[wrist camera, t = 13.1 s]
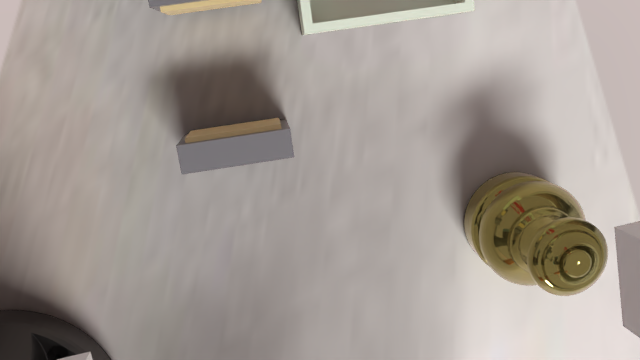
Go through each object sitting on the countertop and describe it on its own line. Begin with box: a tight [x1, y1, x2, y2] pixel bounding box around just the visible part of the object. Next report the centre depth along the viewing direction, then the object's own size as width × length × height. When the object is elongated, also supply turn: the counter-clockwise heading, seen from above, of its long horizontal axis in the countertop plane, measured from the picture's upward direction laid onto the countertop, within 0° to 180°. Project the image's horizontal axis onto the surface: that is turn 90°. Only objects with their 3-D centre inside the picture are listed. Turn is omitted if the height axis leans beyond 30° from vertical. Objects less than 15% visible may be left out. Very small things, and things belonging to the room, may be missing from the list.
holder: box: [148, 0, 294, 174], centre depth 39 cm, size 7×12×5 cm, turn 8°
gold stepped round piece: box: [464, 172, 608, 296], centre depth 41 cm, size 7×7×10 cm
